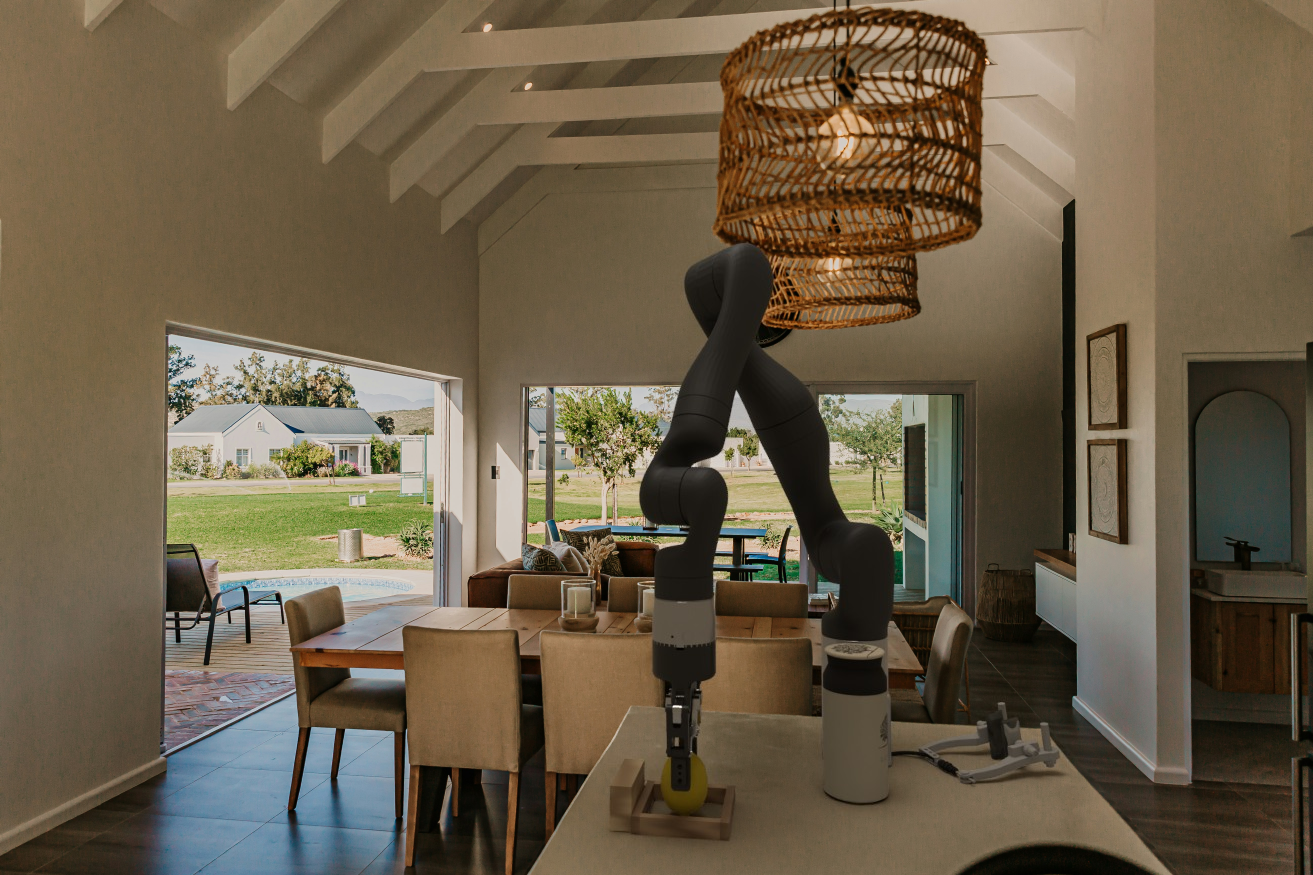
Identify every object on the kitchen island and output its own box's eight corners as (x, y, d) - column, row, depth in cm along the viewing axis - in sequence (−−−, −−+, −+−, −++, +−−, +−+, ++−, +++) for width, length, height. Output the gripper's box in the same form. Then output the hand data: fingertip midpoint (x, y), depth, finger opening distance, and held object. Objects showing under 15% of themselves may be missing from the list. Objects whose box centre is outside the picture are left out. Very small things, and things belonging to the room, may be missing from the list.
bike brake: (1006, 739, 124) (884, 771, 120) (1000, 694, 124) (877, 724, 120) (1071, 773, 111) (936, 811, 107) (1063, 723, 111) (928, 758, 106)
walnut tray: (735, 810, 103) (735, 785, 103) (728, 850, 92) (728, 822, 92) (647, 804, 105) (647, 780, 105) (630, 843, 94) (631, 815, 94)
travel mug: (812, 794, 105) (811, 650, 106) (840, 776, 112) (838, 640, 112) (873, 810, 100) (871, 659, 101) (898, 789, 107) (896, 647, 107)
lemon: (711, 811, 100) (710, 742, 101) (704, 828, 95) (703, 755, 96) (666, 808, 101) (665, 740, 102) (656, 824, 96) (656, 753, 97)
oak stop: (644, 800, 103) (644, 759, 104) (631, 831, 95) (631, 786, 95) (624, 799, 104) (624, 758, 104) (609, 830, 95) (609, 785, 95)
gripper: (661, 623, 107) (661, 756, 106) (642, 647, 92) (642, 801, 92) (720, 624, 105) (721, 759, 105) (710, 649, 91) (711, 805, 91)
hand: (684, 778), depth 98 cm, fingers open, 6 cm apart
